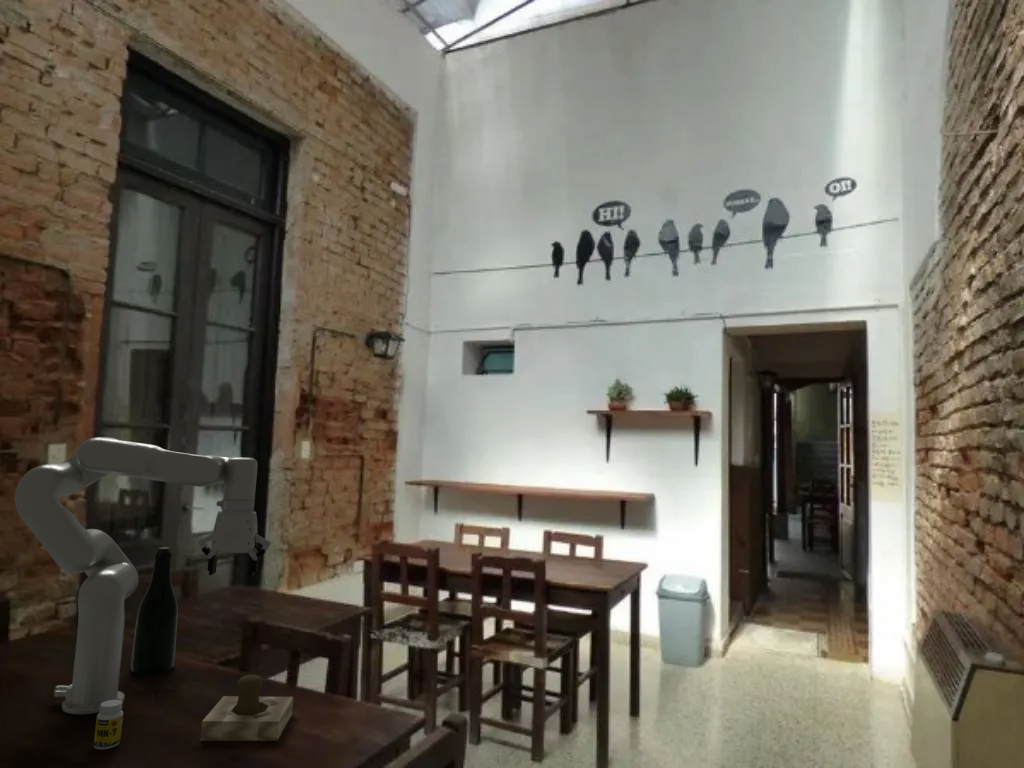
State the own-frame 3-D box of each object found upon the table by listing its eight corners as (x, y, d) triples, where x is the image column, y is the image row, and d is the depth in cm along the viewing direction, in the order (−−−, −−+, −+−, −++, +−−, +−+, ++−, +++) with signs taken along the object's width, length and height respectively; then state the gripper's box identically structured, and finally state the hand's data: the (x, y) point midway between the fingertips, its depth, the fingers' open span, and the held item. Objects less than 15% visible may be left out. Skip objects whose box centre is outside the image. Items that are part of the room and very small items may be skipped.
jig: (200, 740, 140) (202, 721, 141) (222, 713, 154) (223, 696, 155) (277, 740, 142) (278, 721, 142) (291, 714, 156) (293, 696, 156)
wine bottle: (162, 660, 188) (173, 543, 192) (180, 669, 182) (192, 548, 185) (123, 669, 180) (135, 546, 183) (141, 678, 174) (154, 551, 177)
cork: (266, 724, 150) (270, 674, 151) (246, 734, 144) (250, 683, 145) (245, 719, 152) (249, 670, 153) (225, 729, 146) (229, 678, 147)
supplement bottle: (91, 751, 133) (95, 708, 134) (95, 741, 138) (99, 699, 139) (118, 748, 135) (122, 705, 136) (121, 738, 140) (125, 697, 141)
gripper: (197, 506, 163) (190, 576, 161) (269, 509, 164) (263, 578, 163) (208, 503, 170) (201, 570, 169) (276, 506, 172) (271, 572, 170)
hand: (232, 574), depth 166 cm, fingers open, 9 cm apart
